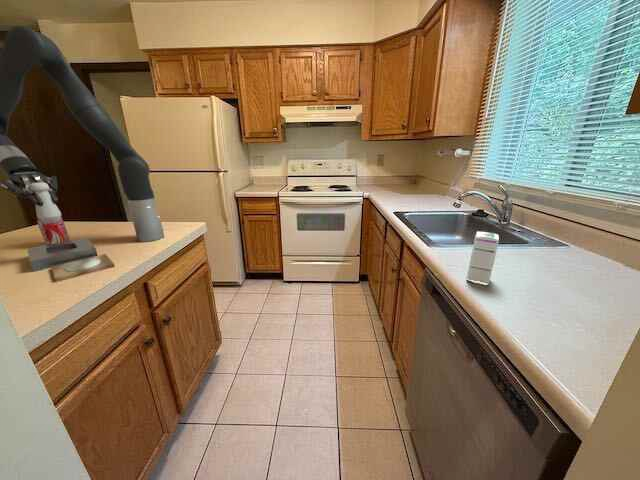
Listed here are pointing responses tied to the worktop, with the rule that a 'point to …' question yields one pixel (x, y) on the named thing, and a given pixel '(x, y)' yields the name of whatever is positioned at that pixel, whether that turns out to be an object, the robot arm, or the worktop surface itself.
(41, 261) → the collar block
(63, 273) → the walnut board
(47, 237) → the soda can
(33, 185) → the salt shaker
